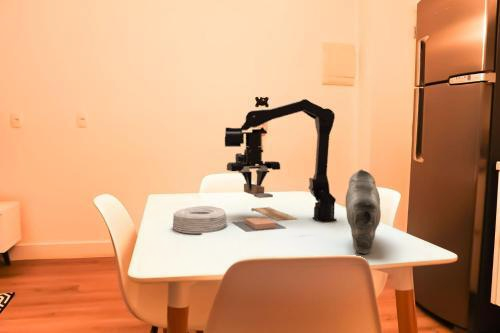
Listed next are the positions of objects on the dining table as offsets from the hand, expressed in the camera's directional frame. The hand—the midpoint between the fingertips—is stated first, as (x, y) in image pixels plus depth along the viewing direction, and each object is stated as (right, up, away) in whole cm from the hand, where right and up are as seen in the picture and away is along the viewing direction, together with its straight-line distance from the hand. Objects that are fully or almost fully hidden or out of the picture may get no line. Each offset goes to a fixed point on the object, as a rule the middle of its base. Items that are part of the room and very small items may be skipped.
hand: (253, 190), depth 130 cm
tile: (0, -10, -8) cm, 13 cm away
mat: (+1, -11, -11) cm, 16 cm away
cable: (-18, -12, -13) cm, 25 cm away
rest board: (+7, -10, +9) cm, 15 cm away
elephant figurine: (+29, -13, -30) cm, 44 cm away
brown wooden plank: (+1, -1, -2) cm, 2 cm away
